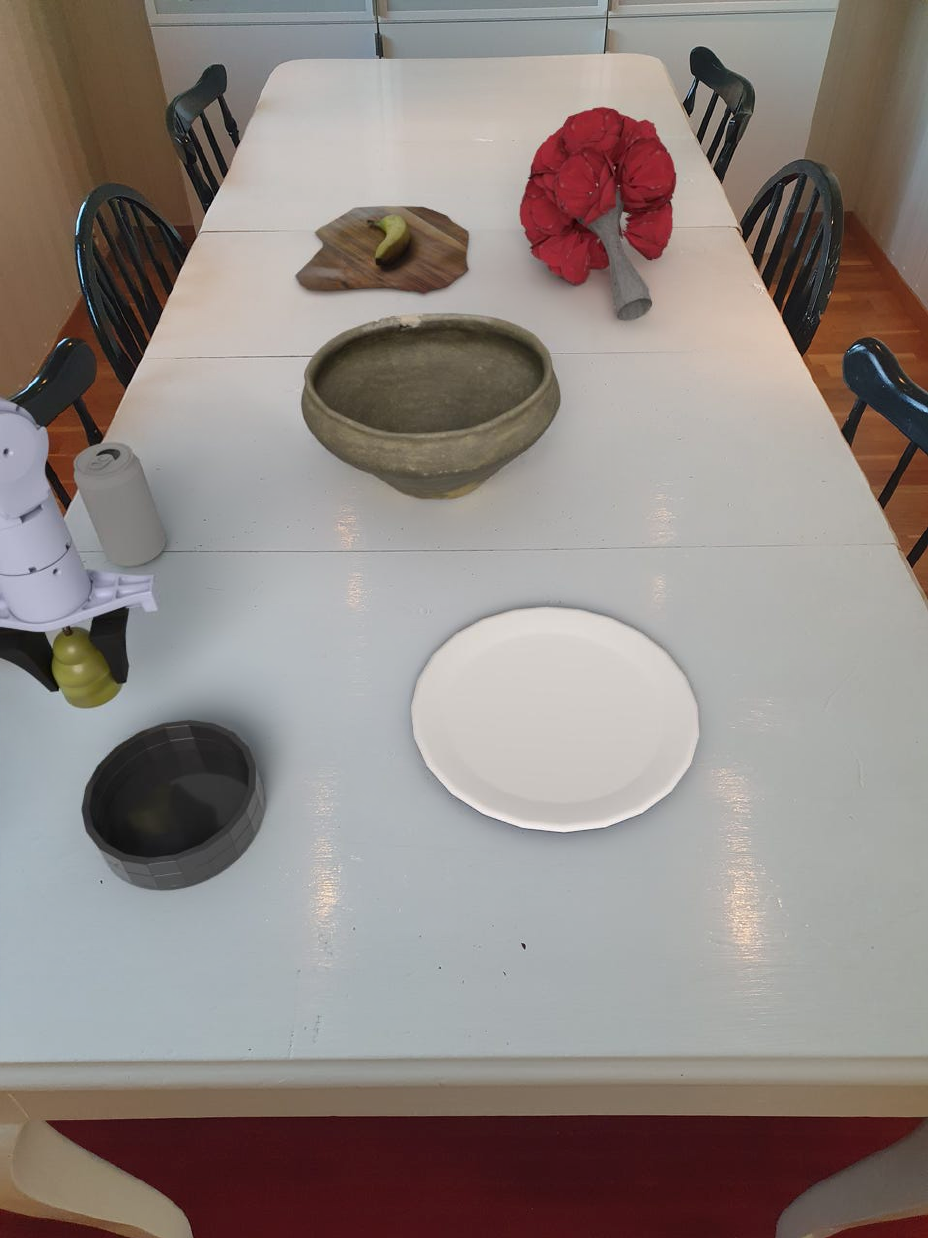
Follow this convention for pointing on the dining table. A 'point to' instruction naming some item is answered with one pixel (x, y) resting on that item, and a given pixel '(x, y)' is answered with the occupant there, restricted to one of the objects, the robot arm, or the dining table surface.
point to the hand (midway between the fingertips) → (90, 678)
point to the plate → (555, 719)
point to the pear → (82, 670)
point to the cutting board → (387, 250)
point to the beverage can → (119, 503)
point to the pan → (174, 804)
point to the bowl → (431, 399)
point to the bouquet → (600, 201)
